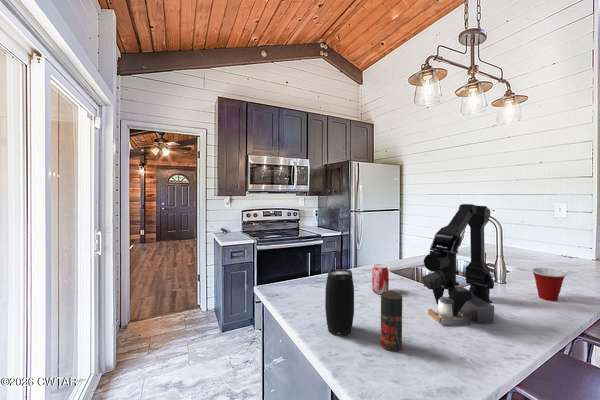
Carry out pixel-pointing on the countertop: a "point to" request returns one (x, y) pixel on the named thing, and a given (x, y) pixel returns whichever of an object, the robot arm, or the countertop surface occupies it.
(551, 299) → the plastic cup
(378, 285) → the soda can
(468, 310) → the grey angular piece
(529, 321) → the countertop surface
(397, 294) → the deodorant
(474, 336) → the countertop surface
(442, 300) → the white rounded cylinder
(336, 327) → the portable speaker
